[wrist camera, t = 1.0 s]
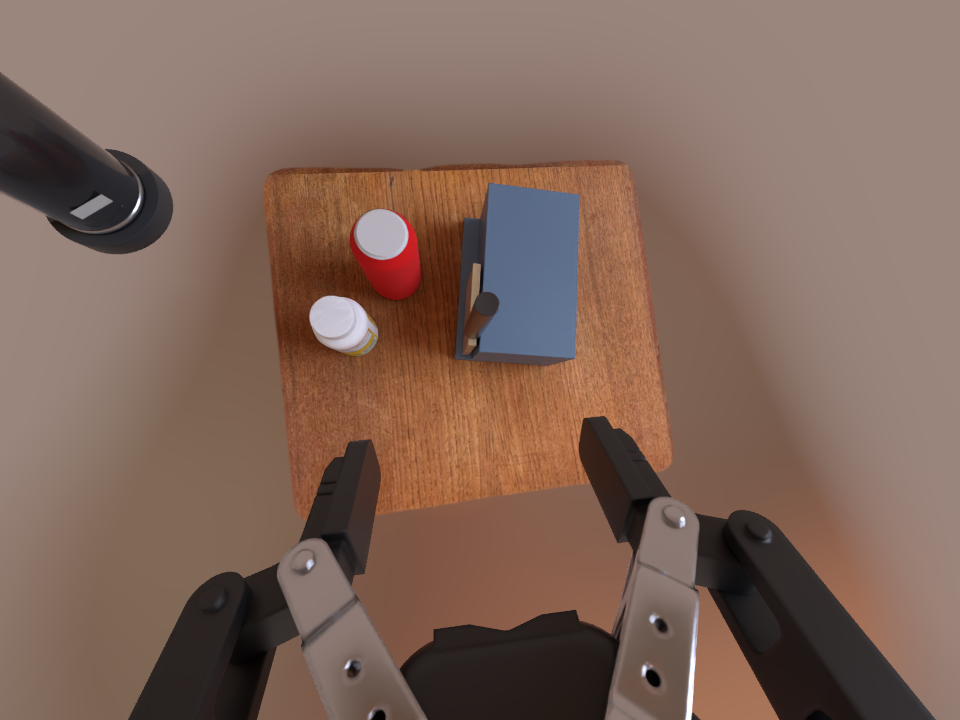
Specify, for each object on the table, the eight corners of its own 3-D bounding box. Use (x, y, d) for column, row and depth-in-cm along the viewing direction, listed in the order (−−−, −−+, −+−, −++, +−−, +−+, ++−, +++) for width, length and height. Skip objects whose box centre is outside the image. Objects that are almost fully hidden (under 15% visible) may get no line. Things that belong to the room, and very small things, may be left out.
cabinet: (454, 359, 42) (459, 350, 34) (463, 221, 44) (470, 180, 36) (548, 365, 44) (575, 358, 35) (553, 231, 46) (579, 194, 37)
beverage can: (391, 244, 43) (373, 187, 31) (431, 274, 43) (429, 228, 31) (360, 282, 42) (330, 237, 30) (402, 312, 42) (388, 279, 30)
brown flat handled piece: (458, 354, 41) (473, 323, 24) (462, 286, 42) (480, 209, 25) (473, 355, 41) (499, 325, 24) (477, 287, 42) (504, 212, 25)
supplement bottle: (332, 312, 41) (300, 287, 32) (378, 312, 42) (361, 287, 32) (332, 357, 41) (300, 345, 31) (379, 356, 41) (361, 344, 32)
